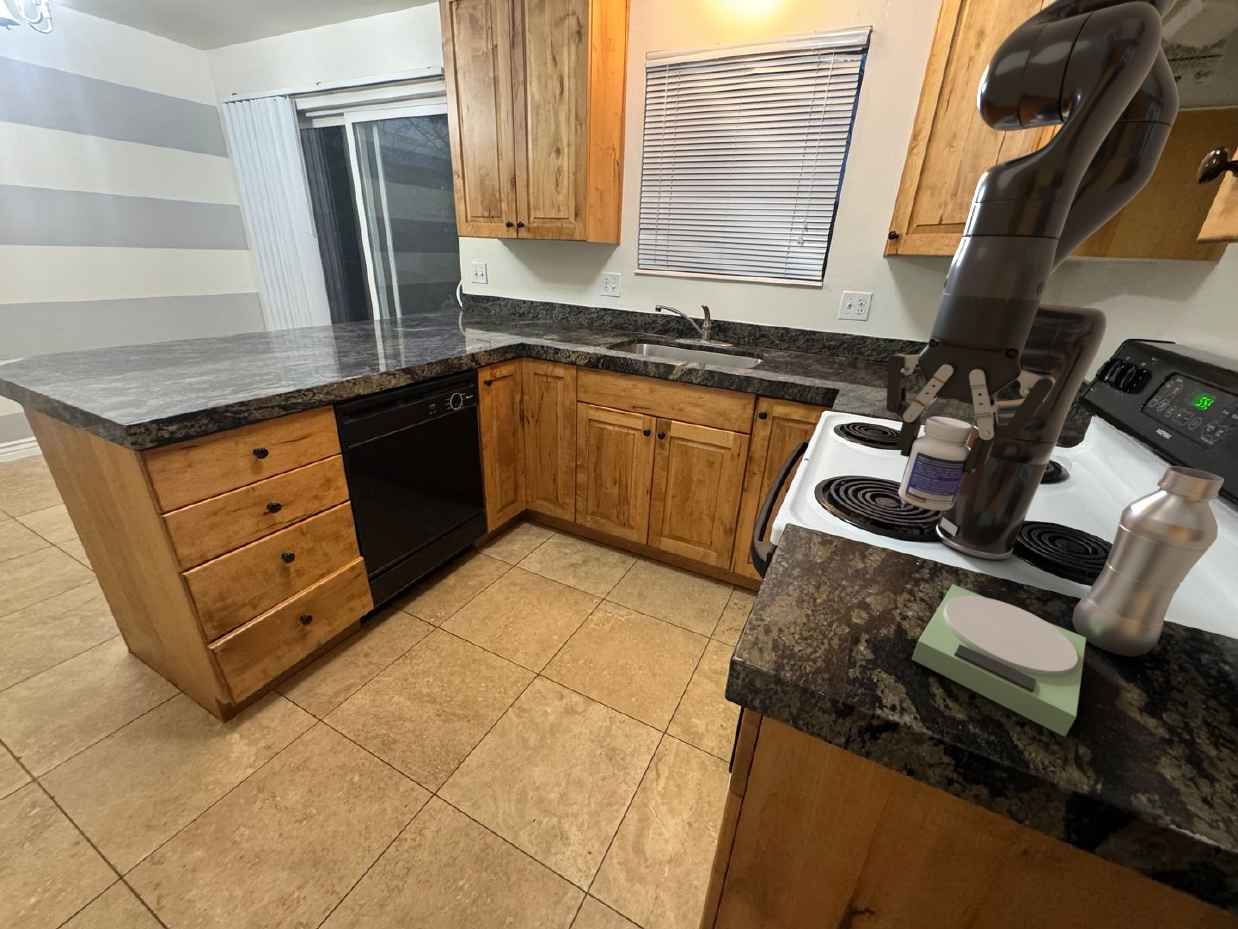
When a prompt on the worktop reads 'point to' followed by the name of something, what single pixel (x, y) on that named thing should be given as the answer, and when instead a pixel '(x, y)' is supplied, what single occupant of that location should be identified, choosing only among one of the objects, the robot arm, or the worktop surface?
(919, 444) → the pill bottle
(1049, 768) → the worktop surface
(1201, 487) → the silver metal bottle
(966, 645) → the kitchen scale
